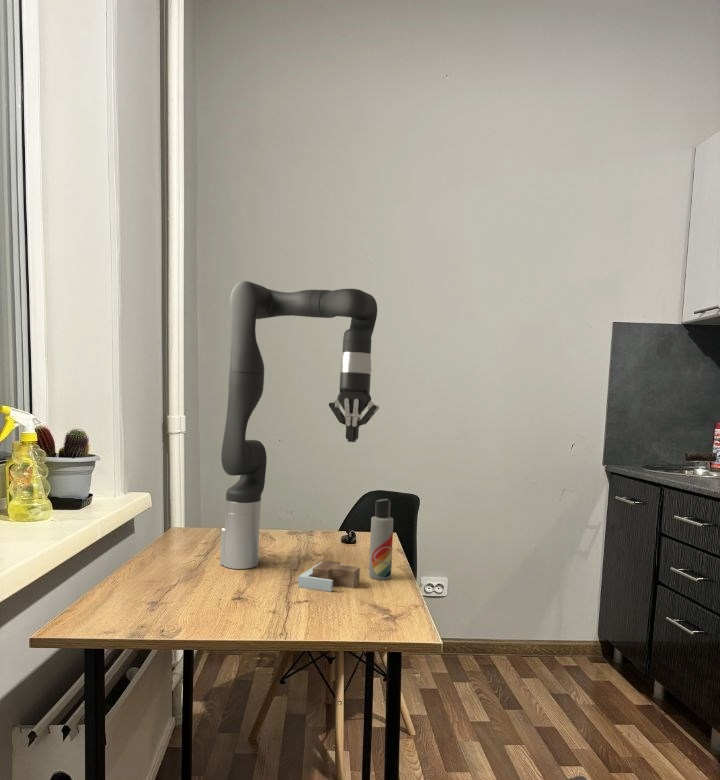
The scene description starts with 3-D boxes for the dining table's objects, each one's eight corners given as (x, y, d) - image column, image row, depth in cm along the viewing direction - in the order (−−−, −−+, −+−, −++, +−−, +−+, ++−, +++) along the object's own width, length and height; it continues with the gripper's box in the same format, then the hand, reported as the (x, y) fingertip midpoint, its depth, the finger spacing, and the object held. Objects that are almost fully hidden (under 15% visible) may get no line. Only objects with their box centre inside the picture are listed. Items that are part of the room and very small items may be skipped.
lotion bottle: (389, 581, 145) (392, 501, 146) (367, 578, 146) (370, 499, 147) (392, 574, 151) (395, 497, 151) (371, 572, 152) (374, 496, 152)
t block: (312, 584, 140) (312, 568, 140) (324, 576, 148) (325, 560, 148) (350, 590, 137) (351, 573, 137) (361, 581, 144) (362, 565, 144)
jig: (297, 586, 138) (298, 576, 138) (320, 571, 151) (321, 561, 151) (330, 591, 135) (331, 581, 135) (351, 575, 148) (351, 565, 149)
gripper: (325, 369, 141) (321, 440, 141) (376, 371, 137) (372, 444, 137) (336, 371, 148) (332, 439, 148) (385, 373, 144) (381, 443, 144)
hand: (351, 441), depth 142 cm, fingers closed
